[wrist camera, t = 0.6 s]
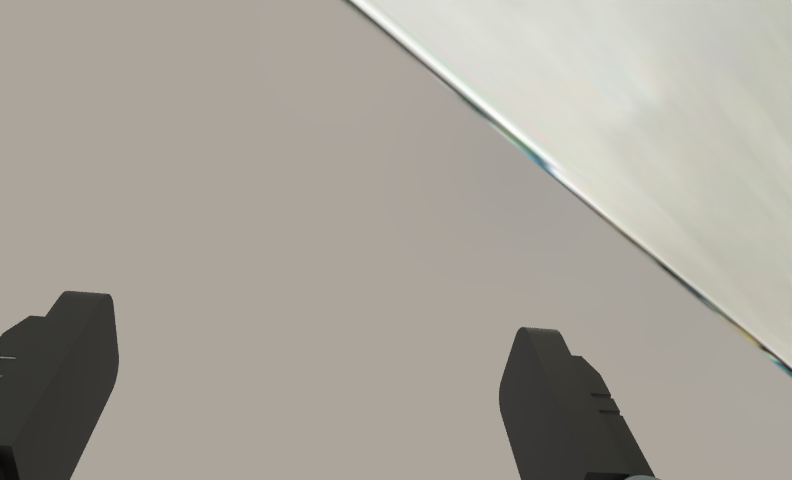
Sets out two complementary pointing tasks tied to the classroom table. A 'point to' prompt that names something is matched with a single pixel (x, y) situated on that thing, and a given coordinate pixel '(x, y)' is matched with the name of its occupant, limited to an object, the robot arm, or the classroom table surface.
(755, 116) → the classroom table surface
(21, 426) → the robot arm
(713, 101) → the classroom table surface
